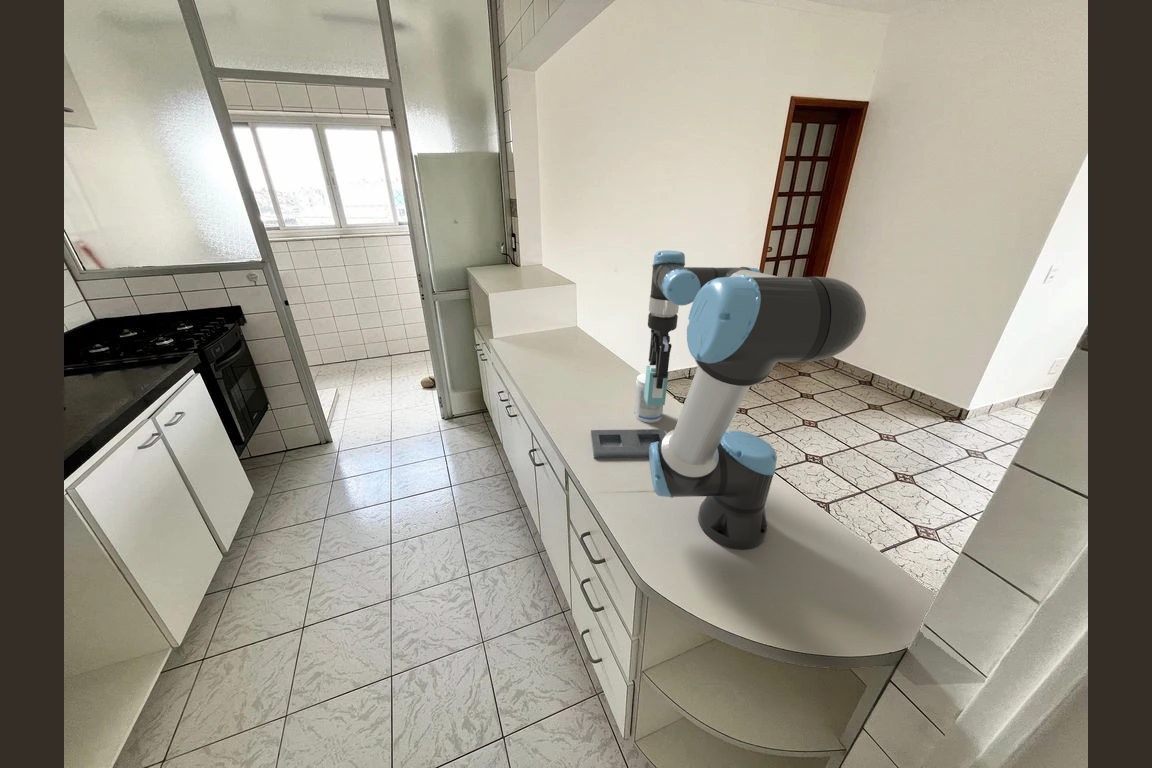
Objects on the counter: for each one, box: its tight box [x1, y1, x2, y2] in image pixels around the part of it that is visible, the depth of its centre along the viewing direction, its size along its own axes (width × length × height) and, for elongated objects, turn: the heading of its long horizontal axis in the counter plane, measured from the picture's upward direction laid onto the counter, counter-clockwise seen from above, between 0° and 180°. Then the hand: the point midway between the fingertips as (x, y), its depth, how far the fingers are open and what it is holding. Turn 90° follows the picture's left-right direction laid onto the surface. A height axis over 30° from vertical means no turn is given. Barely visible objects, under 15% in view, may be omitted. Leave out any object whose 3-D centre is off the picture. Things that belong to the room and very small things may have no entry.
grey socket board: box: [590, 428, 667, 459], centre depth 124 cm, size 12×23×2 cm, turn 92°
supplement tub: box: [633, 372, 664, 424], centre depth 138 cm, size 10×10×15 cm
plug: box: [644, 364, 669, 406], centre depth 116 cm, size 5×5×11 cm
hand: (654, 392), depth 117 cm, fingers closed on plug, 5 cm apart
